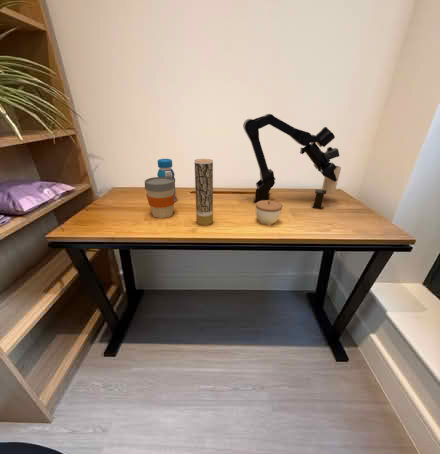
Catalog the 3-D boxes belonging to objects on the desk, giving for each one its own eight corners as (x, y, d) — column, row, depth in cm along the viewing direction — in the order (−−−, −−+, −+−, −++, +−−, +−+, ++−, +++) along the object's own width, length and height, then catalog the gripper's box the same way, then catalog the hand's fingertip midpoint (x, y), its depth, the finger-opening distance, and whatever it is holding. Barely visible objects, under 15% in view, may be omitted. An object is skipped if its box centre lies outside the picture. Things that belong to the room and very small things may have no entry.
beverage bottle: (157, 202, 125) (152, 161, 115) (163, 197, 132) (159, 157, 122) (173, 204, 123) (170, 162, 114) (178, 198, 131) (176, 158, 121)
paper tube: (206, 227, 101) (206, 163, 89) (193, 223, 104) (190, 160, 92) (215, 221, 106) (216, 160, 94) (202, 217, 109) (201, 158, 97)
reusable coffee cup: (142, 216, 109) (137, 182, 102) (158, 207, 119) (154, 175, 112) (168, 221, 105) (164, 186, 98) (181, 211, 116) (179, 178, 108)
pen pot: (321, 193, 124) (326, 167, 118) (321, 189, 129) (327, 164, 123) (334, 194, 122) (341, 168, 116) (334, 191, 127) (340, 165, 121)
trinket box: (282, 227, 102) (285, 205, 97) (255, 227, 102) (257, 205, 97) (277, 217, 111) (280, 196, 107) (253, 216, 111) (254, 196, 107)
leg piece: (311, 208, 121) (315, 192, 117) (312, 204, 125) (315, 189, 121) (322, 209, 120) (325, 193, 116) (322, 206, 124) (326, 190, 120)
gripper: (336, 144, 106) (356, 172, 111) (325, 139, 123) (343, 163, 127) (314, 163, 111) (333, 188, 115) (306, 155, 127) (323, 178, 132)
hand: (334, 179), depth 122 cm, fingers closed on pen pot, 6 cm apart
